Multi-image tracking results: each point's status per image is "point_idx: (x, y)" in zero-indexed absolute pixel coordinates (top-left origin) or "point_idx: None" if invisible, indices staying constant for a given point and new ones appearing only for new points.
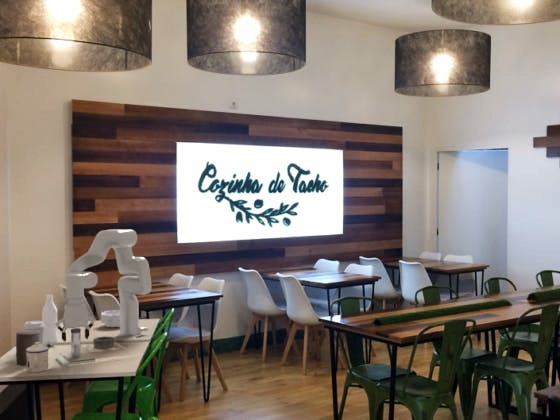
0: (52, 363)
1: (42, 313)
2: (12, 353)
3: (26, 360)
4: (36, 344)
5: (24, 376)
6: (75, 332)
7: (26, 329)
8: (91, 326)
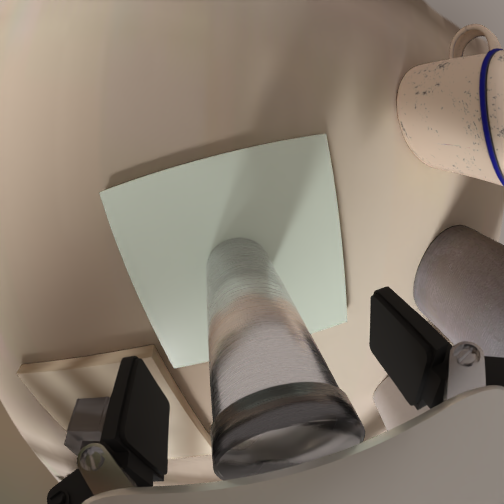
0: (371, 224)
1: None
2: None
3: (475, 231)
4: None
5: None
6: (295, 386)
7: None
8: (67, 482)
